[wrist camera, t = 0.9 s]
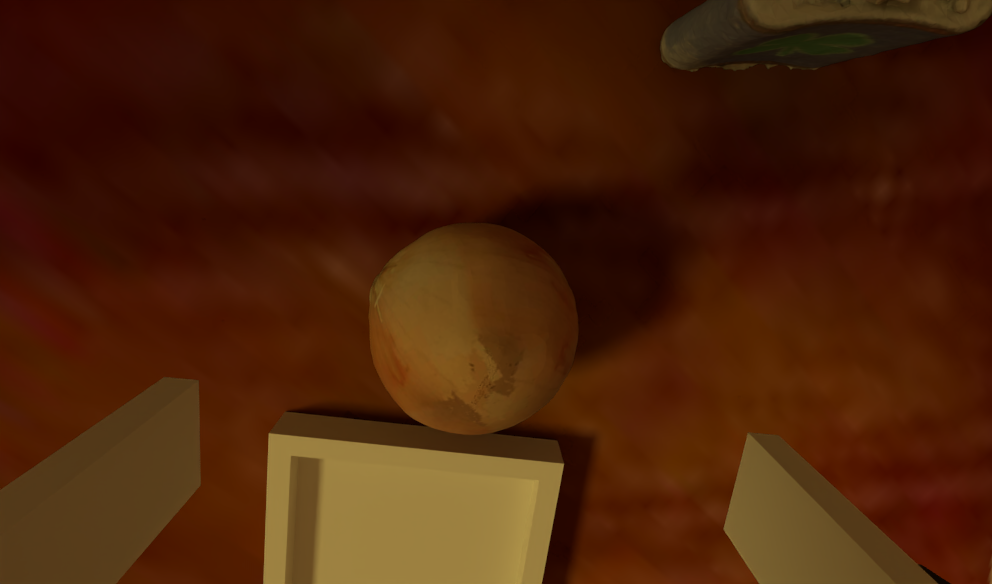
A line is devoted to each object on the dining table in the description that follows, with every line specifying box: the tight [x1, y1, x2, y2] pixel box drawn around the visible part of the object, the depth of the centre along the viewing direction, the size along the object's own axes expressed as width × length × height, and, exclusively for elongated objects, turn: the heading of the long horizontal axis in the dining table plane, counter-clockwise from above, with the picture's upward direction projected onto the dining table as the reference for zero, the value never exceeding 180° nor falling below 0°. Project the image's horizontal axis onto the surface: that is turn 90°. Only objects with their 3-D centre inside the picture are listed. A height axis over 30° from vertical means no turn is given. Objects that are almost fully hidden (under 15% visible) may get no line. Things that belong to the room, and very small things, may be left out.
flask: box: [660, 0, 992, 71], centre depth 21 cm, size 9×3×11 cm, turn 90°
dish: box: [264, 412, 564, 584], centre depth 32 cm, size 16×16×2 cm
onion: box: [369, 223, 579, 435], centre depth 25 cm, size 10×10×10 cm
